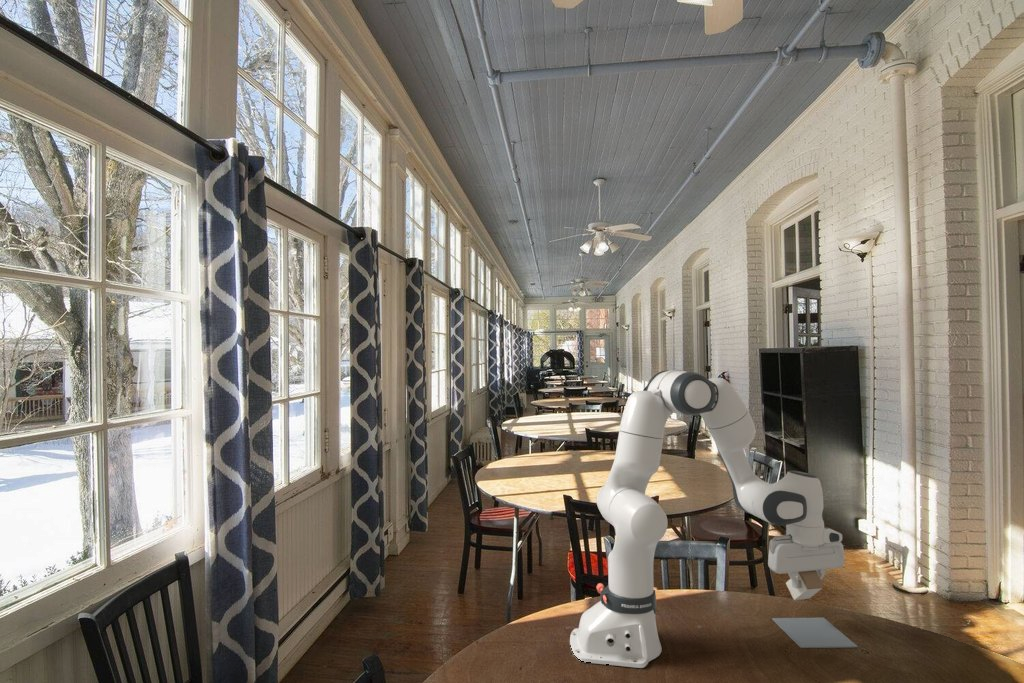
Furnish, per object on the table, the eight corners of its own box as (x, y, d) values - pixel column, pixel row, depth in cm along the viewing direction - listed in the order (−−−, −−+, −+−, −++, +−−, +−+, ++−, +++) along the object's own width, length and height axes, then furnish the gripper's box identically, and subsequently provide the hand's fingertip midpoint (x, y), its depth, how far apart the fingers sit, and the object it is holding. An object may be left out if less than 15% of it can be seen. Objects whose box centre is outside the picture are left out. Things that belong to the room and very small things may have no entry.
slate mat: (800, 648, 128) (800, 646, 128) (772, 619, 142) (772, 618, 142) (857, 647, 128) (857, 646, 128) (823, 618, 142) (823, 617, 142)
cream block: (794, 600, 138) (809, 587, 133) (785, 582, 142) (799, 570, 136) (809, 598, 139) (824, 586, 134) (800, 581, 142) (815, 568, 137)
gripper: (777, 540, 132) (779, 595, 132) (848, 534, 136) (850, 587, 135) (761, 532, 138) (763, 584, 138) (829, 526, 142) (831, 577, 142)
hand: (806, 586), depth 137 cm, fingers closed on cream block, 4 cm apart
